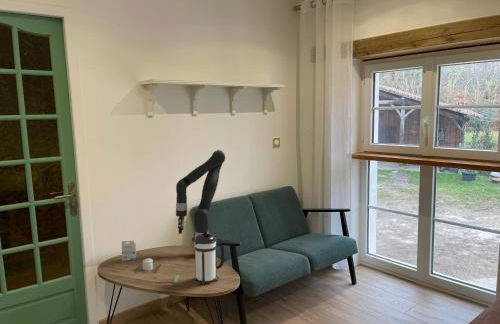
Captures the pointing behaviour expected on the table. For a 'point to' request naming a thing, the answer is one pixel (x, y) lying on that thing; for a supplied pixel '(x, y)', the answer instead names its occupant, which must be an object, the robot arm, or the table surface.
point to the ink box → (128, 250)
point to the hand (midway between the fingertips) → (181, 231)
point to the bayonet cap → (147, 264)
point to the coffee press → (206, 257)
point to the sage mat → (170, 282)
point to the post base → (154, 270)
